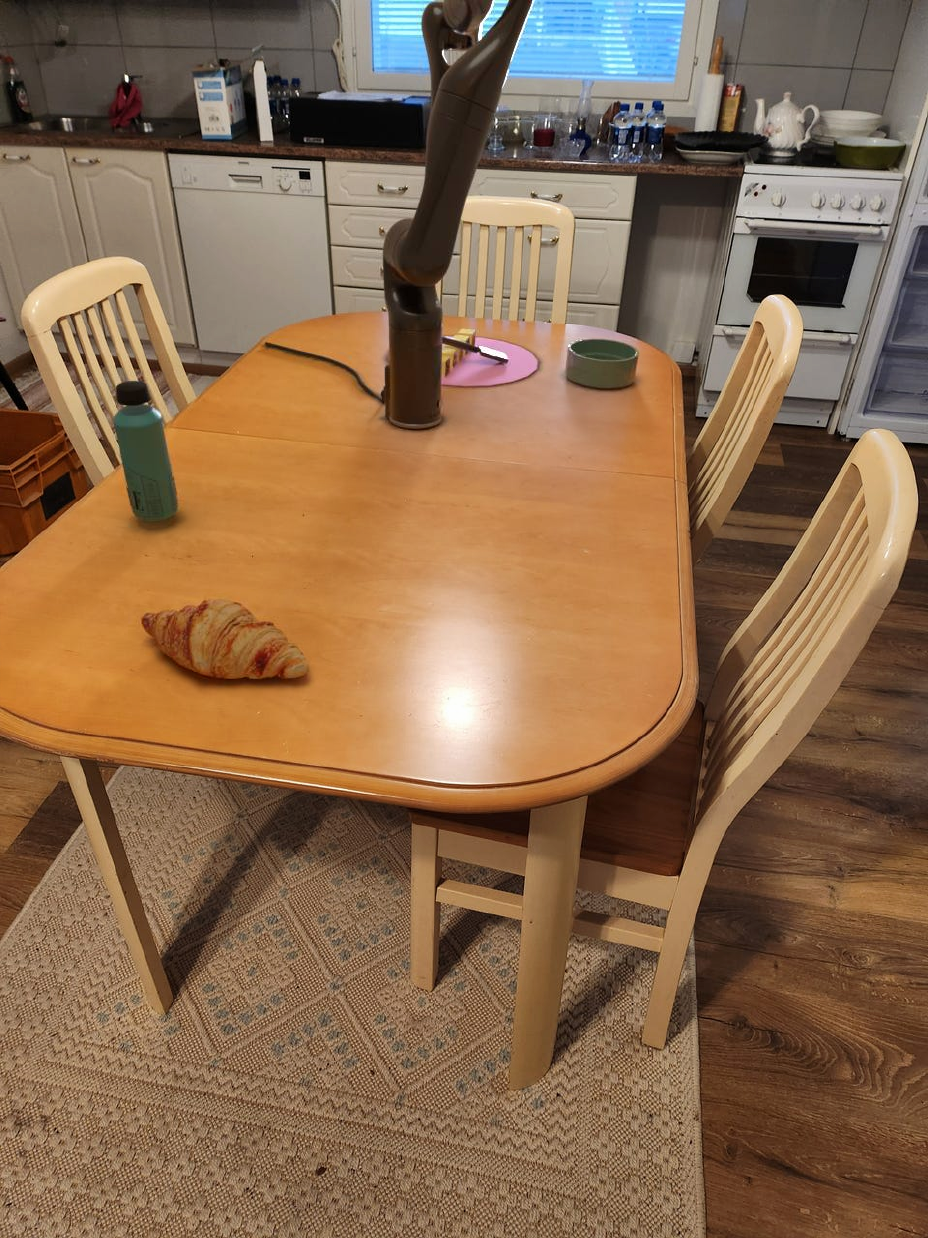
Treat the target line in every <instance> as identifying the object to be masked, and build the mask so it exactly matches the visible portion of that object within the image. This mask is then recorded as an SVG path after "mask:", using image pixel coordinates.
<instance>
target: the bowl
mask: <svg viewBox="0 0 928 1238" xmlns="http://www.w3.org/2000/svg"><path fill="white" fill-rule="evenodd" d="M566 352H567V353H566V360H565V361H566V362H565V372H564V373H565V376H566V378H568V379H569V380H570V381H572V382H575V383H577V384H579V385H581V386H585V387H588V388H589V387H590V388H593V389H616V388H622V387H626V386H629V385H631V384H633V383H634V382H635V380H636V376H637V375H636V374H637V370H638V362H639V356H640V352H639V350H638V348H636V347H635V346H633V345H632V344H629V343H626V342H623V341H619V340H614V339H607V338H583V339H578V340H574V341H573V342H571V343H569V344H568V346H567V351H566Z"/></svg>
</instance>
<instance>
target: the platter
mask: <svg viewBox="0 0 928 1238" xmlns="http://www.w3.org/2000/svg"><path fill="white" fill-rule="evenodd" d="M445 337H449V338H452V339H455V340H459V341H462V342H465V343H468V344H472V345H475V346H481V347H484V348H487V349H491V350H494V351H497V352H501V353H504V354H505V355H506V357H507V358H508V363H503V362H500V361H497V360H493V359H490V358H486V357H483V356H481V355H480V353H479V352H478V353H472V352H469V351H466V350H462V349H459V348H456V347H452V346H449V345H446V344H442V379H441V386H451V387H452V386H453V387H491V386H498V385H505V384H510V383H514V382H517V381H520V380H523V379H525V378H527V377H529V376H531V375H532V374H533V373H534V372H535V371H537V369H538V363H539V361H538V359H537V358H536V356H535V355H534V354H533V353H532V352H530V351H528V350H527V349H525V348H523V347H521V346H518V345H515V344H513V343H509V342H507V341H503V340H497V339H493V338H492V339H491V338H487V337H479V336H477V330H476V329H470V328H461V329H460V330H459V331H458V332H457V334H454V336H453V335H451V336H450V335H449V336H445ZM387 358H388V359H389V356H388V357H387Z"/></svg>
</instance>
